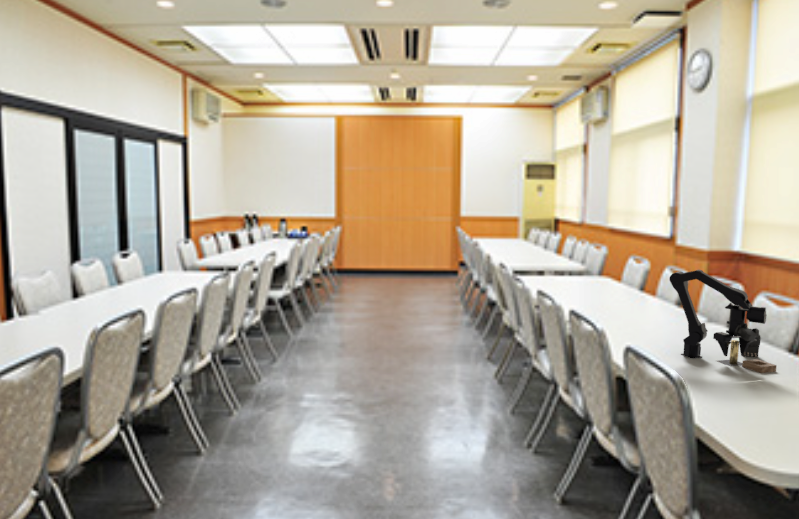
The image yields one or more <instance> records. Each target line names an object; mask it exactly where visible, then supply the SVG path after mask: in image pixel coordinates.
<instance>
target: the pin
mask: <svg viewBox="0 0 799 519" xmlns="http://www.w3.org/2000/svg"><path fill="white" fill-rule="evenodd" d="M730 342H732V343H731V344H730V349H729V350H730V353H729V360H730V361H729V363H730V364H737V362H739V361H738V360H739V352H740V351H739V350H740V344H739V340H737V339H732V340H731V341H730Z"/></svg>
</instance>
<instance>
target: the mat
mask: <svg viewBox="0 0 799 519" xmlns="http://www.w3.org/2000/svg"><path fill="white" fill-rule="evenodd" d="M729 361H730V359H722V360H716V362H718V363H721V364H724V365H726V366H728V367H738V366H739V367H740V366H742V363H743V362H741V361H738V362H737V364H730V363H729Z"/></svg>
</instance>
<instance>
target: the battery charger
mask: <svg viewBox="0 0 799 519" xmlns="http://www.w3.org/2000/svg"><path fill="white" fill-rule="evenodd" d="M758 336H759V337H758V339H755V341H753V342H751V343H750V344H749V345H748V347H747V349H746V351H745V353H744V355H742V354H741V353H740V355H741V356H742V357H745V356H746V358H757V359H758V358H759V351H760V346H761V339H762V338H761V335H760V334H759V335H758Z"/></svg>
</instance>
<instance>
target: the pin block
mask: <svg viewBox="0 0 799 519" xmlns="http://www.w3.org/2000/svg"><path fill="white" fill-rule="evenodd" d="M741 363H742V365H741V367H743V368H744V369H747V370H748V369H749V370H751V371H753V372H757V373H760V374H764V373H765V374H767V373H776V372H777V364H773V363H769V362H767V361H764V360H761V359H758V358H757V359H746V360H742V362H741Z"/></svg>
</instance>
